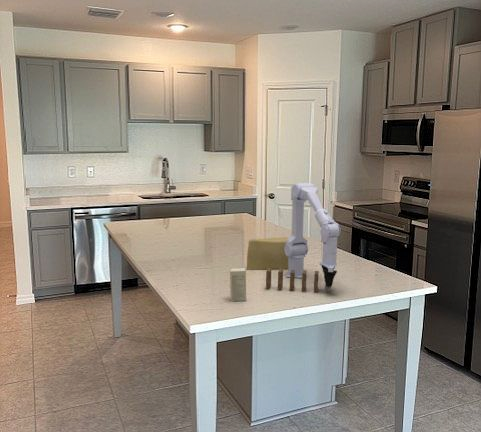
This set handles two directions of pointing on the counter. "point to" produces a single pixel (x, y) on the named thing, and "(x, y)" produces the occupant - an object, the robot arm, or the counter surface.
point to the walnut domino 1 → (268, 279)
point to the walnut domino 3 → (292, 279)
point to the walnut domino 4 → (304, 280)
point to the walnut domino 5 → (316, 281)
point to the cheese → (267, 254)
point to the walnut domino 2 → (280, 279)
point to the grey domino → (327, 287)
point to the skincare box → (238, 284)
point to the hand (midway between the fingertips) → (328, 284)
